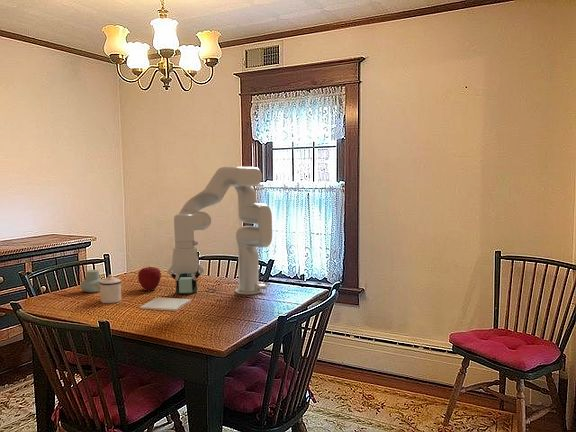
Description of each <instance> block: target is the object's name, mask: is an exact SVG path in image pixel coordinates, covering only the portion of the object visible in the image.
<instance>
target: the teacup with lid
mask: <svg viewBox="0 0 576 432" xmlns="http://www.w3.org/2000/svg"><path fill="white" fill-rule="evenodd" d="M99 293H100V302H101V303H102V304H114V303H115V304H116V303H119V302H121V301H122V280H121V278H117V277H114V275H113V274H108V275H107V277H105V278H103V279H101V281H100V285H99Z"/></svg>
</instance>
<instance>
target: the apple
mask: <svg viewBox="0 0 576 432" xmlns="http://www.w3.org/2000/svg"><path fill="white" fill-rule="evenodd" d="M161 272H162V271H160V269H159V268H157V267H152V266H150V265H149V266H148V267H143V268H141V269H140V270H139V271H138V276H137V278H138V282H139V284H140V286H141V287H142V288H143V289H144V290H145V291H148V292H149V291H153V290H155V289H156V288H157V287H158V286H159V284H160V281H161V278H162V277H161V276H162V273H161Z"/></svg>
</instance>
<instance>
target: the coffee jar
mask: <svg viewBox="0 0 576 432" xmlns="http://www.w3.org/2000/svg"><path fill="white" fill-rule="evenodd" d="M181 277H192V275H191V273H183V274H180V277H179V278H181ZM197 282H198V281H196V288H195V289H194V290H193V291H192V292H191V293H179V291H178V288H176V287H175V293H177V294H178V295H189V294H190V295H191V294H195V293H197V292H198V283H197Z"/></svg>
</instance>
